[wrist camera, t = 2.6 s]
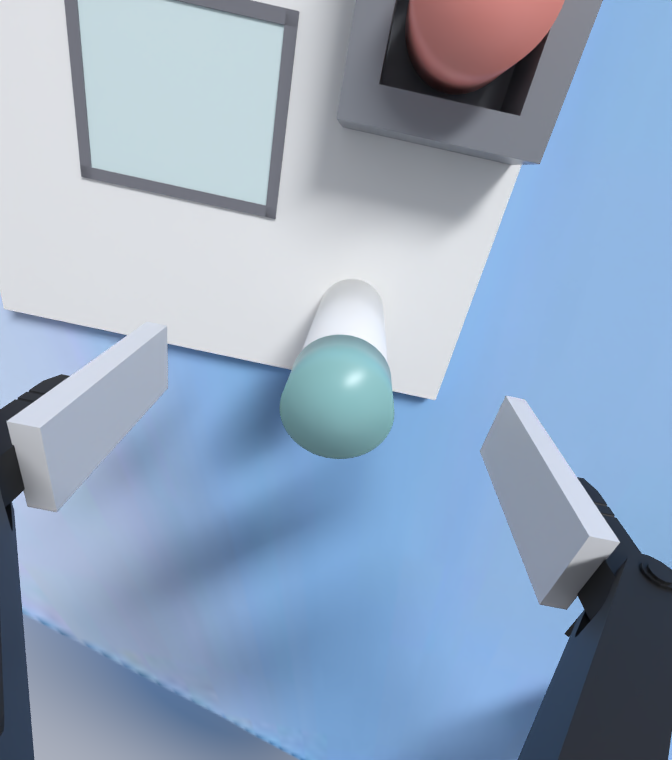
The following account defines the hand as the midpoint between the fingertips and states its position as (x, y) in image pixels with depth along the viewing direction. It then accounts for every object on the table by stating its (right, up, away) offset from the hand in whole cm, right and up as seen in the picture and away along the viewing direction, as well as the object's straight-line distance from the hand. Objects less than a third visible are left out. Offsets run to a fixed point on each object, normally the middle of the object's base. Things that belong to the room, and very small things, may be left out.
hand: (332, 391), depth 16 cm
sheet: (-5, +13, +7) cm, 16 cm away
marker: (+1, +5, +10) cm, 11 cm away
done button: (+6, +16, +1) cm, 17 cm away
